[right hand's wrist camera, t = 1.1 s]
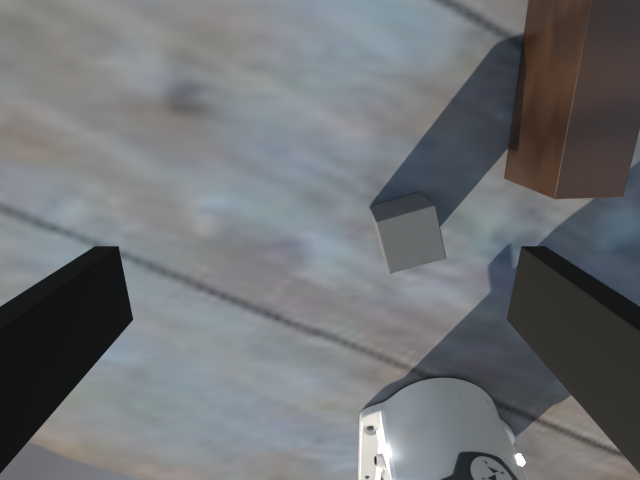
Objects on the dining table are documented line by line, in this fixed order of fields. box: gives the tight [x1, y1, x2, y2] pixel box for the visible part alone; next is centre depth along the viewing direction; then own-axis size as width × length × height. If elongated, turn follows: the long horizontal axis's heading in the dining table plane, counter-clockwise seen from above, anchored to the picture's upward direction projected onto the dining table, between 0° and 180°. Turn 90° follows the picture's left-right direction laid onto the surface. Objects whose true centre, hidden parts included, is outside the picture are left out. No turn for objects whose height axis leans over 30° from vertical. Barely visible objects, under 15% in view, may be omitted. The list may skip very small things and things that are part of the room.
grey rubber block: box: [369, 192, 446, 274], centre depth 34 cm, size 5×5×5 cm
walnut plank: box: [504, 0, 640, 199], centre depth 27 cm, size 24×5×8 cm, turn 2°
